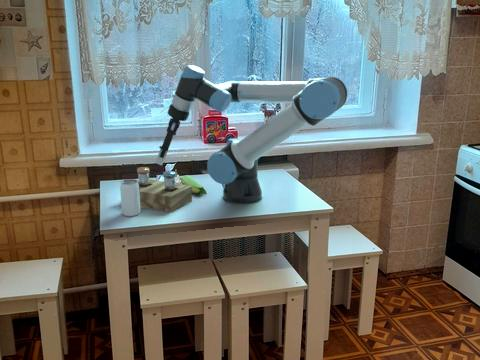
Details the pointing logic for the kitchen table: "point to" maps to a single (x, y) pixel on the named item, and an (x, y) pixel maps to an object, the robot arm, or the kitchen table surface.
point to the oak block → (164, 196)
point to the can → (130, 197)
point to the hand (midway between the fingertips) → (161, 156)
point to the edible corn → (193, 185)
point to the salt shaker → (169, 180)
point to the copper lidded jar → (143, 176)
